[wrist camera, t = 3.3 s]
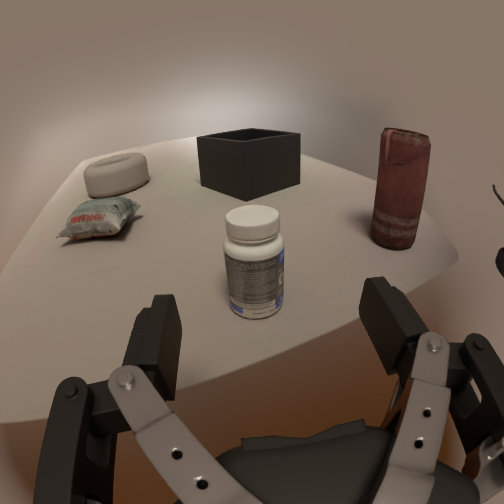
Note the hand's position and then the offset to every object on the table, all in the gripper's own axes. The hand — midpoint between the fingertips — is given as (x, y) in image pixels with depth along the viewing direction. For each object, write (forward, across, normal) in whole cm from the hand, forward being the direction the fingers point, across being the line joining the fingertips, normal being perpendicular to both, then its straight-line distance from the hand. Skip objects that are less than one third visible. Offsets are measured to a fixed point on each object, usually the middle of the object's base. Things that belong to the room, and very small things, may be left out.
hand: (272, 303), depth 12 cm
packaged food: (+28, +22, +9) cm, 37 cm away
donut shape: (+52, +28, +9) cm, 60 cm away
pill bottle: (+11, 0, +9) cm, 14 cm away
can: (+20, -18, +9) cm, 28 cm away
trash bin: (+45, -2, +9) cm, 46 cm away
